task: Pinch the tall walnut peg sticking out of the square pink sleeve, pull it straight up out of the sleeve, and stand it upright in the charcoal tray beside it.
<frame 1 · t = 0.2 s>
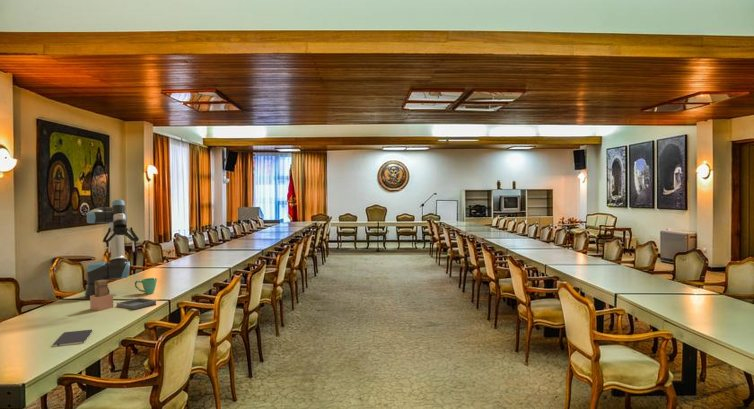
hand: (121, 251, 306), 35 cm above the table, tool tilted 30°, fingers open, 13 cm apart
notebook: (73, 340, 242), on the table
square pink sleeve: (102, 309, 300), on the table
charcoal tray: (136, 306, 307), on the table
walnut peg: (101, 308, 300), point 1 cm above the table, touching square pink sleeve
mug: (146, 293, 347), on the table
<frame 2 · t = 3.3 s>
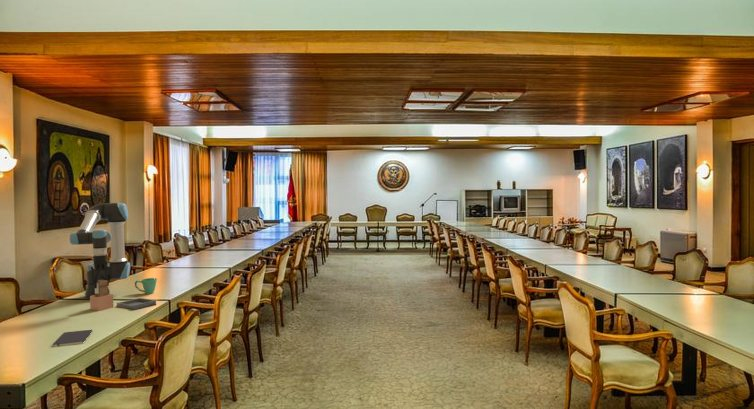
hand: (101, 292, 300), 11 cm above the table, tool pointing down, fingers closed on walnut peg, 5 cm apart
walnut peg: (101, 308, 300), point 1 cm above the table, touching gripper, square pink sleeve
everything else where it was.
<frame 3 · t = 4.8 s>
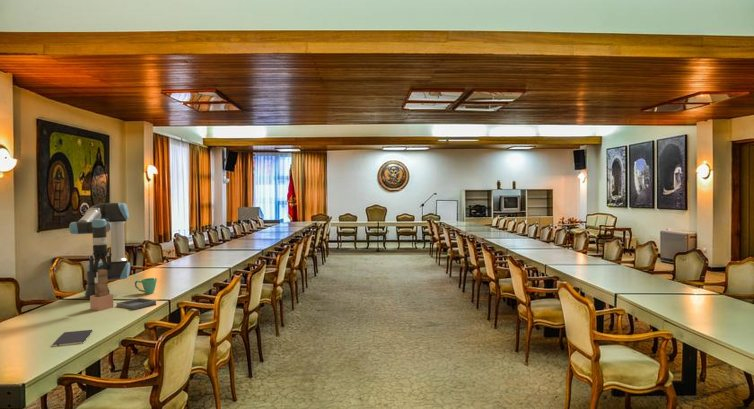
hand: (101, 281, 300), 17 cm above the table, tool pointing down, fingers closed on walnut peg, 5 cm apart
walnut peg: (101, 297, 300), point 8 cm above the table, touching gripper
everything else where it was.
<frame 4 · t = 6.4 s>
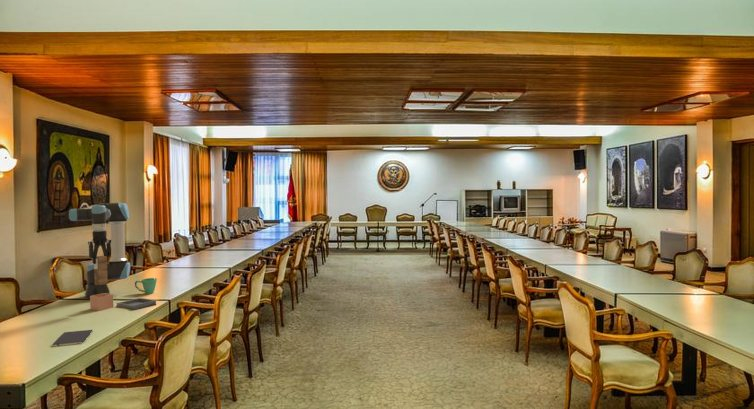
hand: (100, 268, 299), 26 cm above the table, tool pointing down, fingers closed on walnut peg, 5 cm apart
walnut peg: (101, 284, 300), point 16 cm above the table, touching gripper
everything else where it was.
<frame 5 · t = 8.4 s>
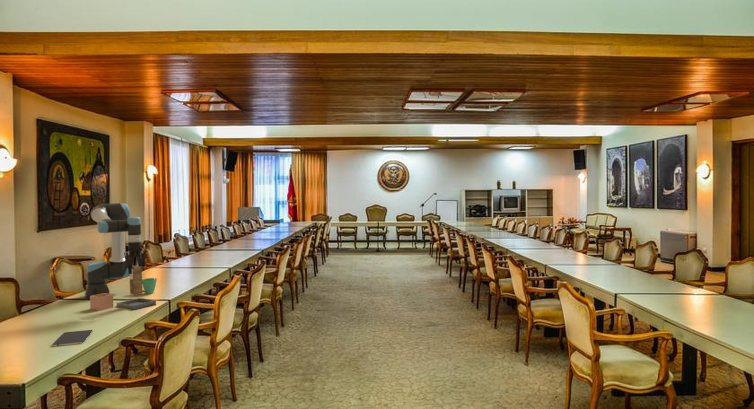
hand: (135, 278, 307), 18 cm above the table, tool pointing down, fingers closed on walnut peg, 5 cm apart
walnut peg: (136, 293, 307), point 8 cm above the table, touching gripper
everything else where it was.
when the fingers open (12 cm above the table, at t = 9.8 s): walnut peg drops 1 cm, resting on charcoal tray.
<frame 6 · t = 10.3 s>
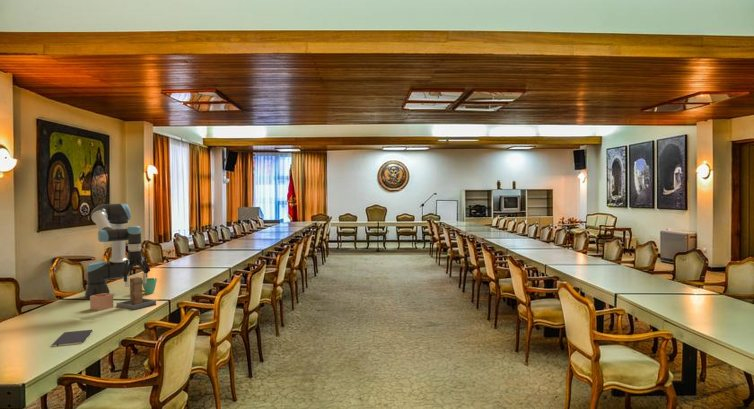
hand: (135, 284, 307), 14 cm above the table, tool pointing down, fingers open, 11 cm apart
walnut peg: (136, 304, 307), point 1 cm above the table, touching charcoal tray
everything else where it was.
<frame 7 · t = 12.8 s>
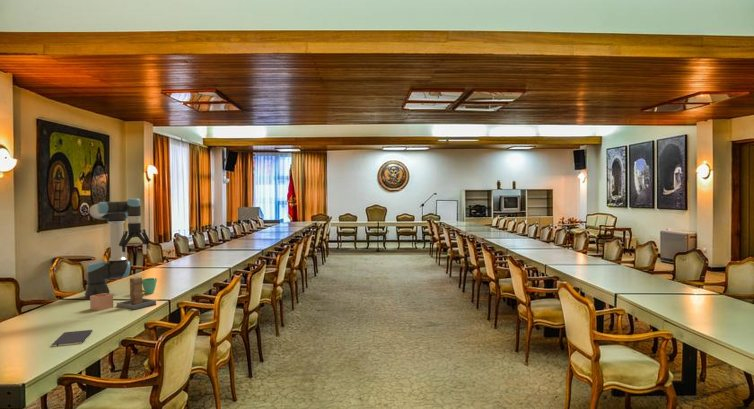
hand: (135, 255, 313), 31 cm above the table, tool pointing down, fingers open, 13 cm apart
nothing on the table moved.
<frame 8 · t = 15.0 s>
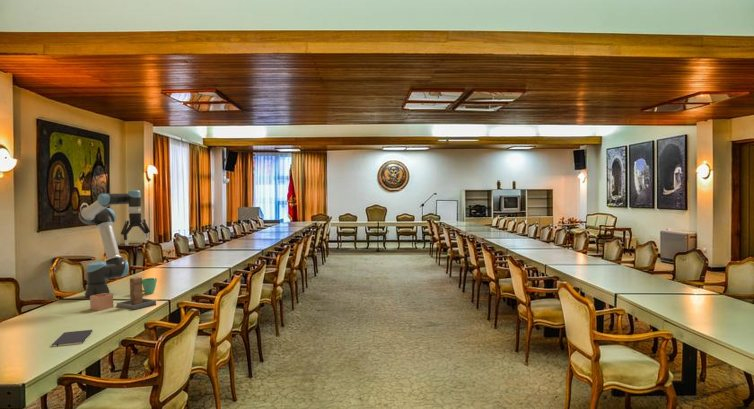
hand: (136, 243, 334), 37 cm above the table, tool pointing down, fingers open, 13 cm apart
nothing on the table moved.
at the end: walnut peg inside the target area on the charcoal tray (0.0 cm from its centre), point 1.0 cm above the charcoal tray's base; walnut peg tilted 0°; the gripper is holding nothing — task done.
